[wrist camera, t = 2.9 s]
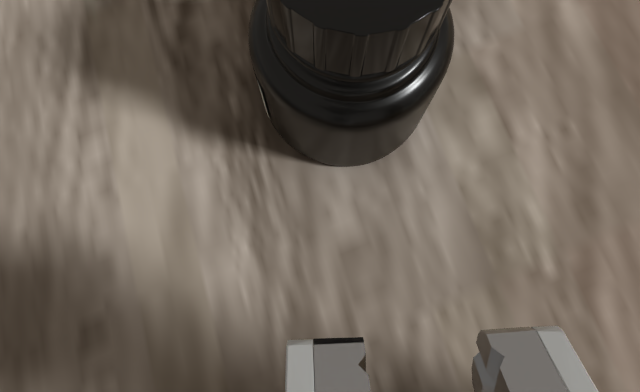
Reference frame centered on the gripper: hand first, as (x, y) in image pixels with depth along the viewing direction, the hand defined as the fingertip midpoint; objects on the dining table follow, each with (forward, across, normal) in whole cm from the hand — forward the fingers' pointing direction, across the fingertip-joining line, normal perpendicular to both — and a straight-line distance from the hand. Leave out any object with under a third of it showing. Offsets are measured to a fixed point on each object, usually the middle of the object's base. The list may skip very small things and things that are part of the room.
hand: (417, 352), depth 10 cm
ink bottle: (+20, 0, +2) cm, 20 cm away
